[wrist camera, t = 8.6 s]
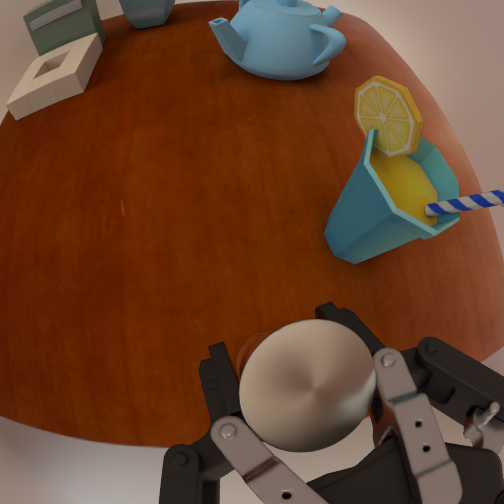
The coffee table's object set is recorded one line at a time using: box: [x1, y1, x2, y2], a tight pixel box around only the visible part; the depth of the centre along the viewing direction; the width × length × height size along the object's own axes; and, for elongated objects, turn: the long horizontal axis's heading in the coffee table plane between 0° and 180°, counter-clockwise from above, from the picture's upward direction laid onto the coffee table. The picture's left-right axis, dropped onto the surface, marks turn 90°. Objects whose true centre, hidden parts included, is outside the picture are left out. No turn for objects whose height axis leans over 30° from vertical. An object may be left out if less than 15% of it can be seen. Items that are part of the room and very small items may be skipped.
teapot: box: [209, 0, 346, 80], centre depth 25 cm, size 15×17×11 cm
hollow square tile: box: [6, 32, 103, 120], centre depth 26 cm, size 13×13×4 cm
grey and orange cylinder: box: [236, 319, 376, 452], centre depth 12 cm, size 5×5×9 cm
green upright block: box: [23, 0, 106, 56], centre depth 24 cm, size 12×4×14 cm, turn 100°
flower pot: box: [119, 0, 175, 29], centre depth 29 cm, size 9×9×9 cm
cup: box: [324, 76, 504, 264], centre depth 16 cm, size 14×8×15 cm, turn 46°
